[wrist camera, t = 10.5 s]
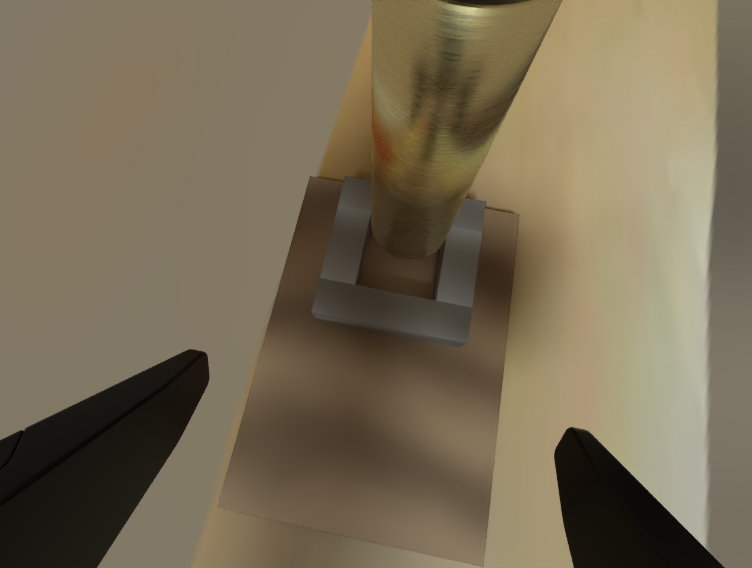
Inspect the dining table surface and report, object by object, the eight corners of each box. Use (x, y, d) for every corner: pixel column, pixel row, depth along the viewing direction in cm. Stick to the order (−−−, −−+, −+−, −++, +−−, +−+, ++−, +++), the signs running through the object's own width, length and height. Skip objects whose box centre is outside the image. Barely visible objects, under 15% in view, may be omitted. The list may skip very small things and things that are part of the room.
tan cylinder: (444, 268, 17) (637, -54, 5) (361, 252, 17) (337, -99, 5) (456, 194, 18) (638, -228, 6) (377, 180, 18) (392, -261, 6)
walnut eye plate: (478, 558, 20) (496, 586, 17) (224, 501, 21) (200, 520, 18) (513, 221, 25) (532, 199, 23) (312, 184, 26) (304, 158, 23)
